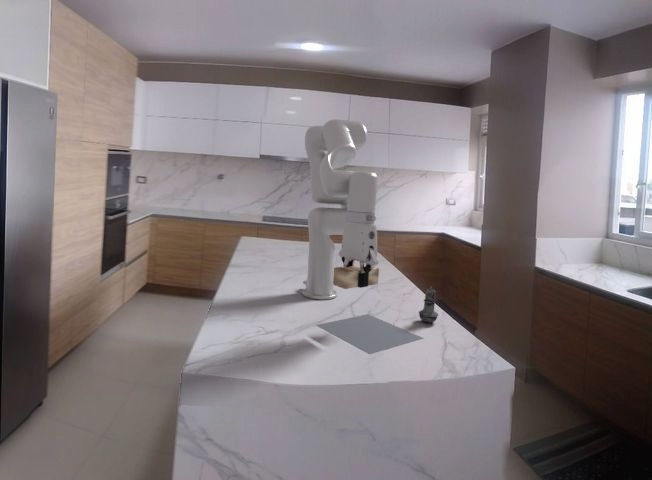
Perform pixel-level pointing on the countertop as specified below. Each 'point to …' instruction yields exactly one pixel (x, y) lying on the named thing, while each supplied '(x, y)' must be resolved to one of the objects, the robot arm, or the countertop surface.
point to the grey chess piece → (429, 307)
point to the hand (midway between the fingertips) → (355, 283)
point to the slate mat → (369, 333)
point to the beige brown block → (352, 276)
